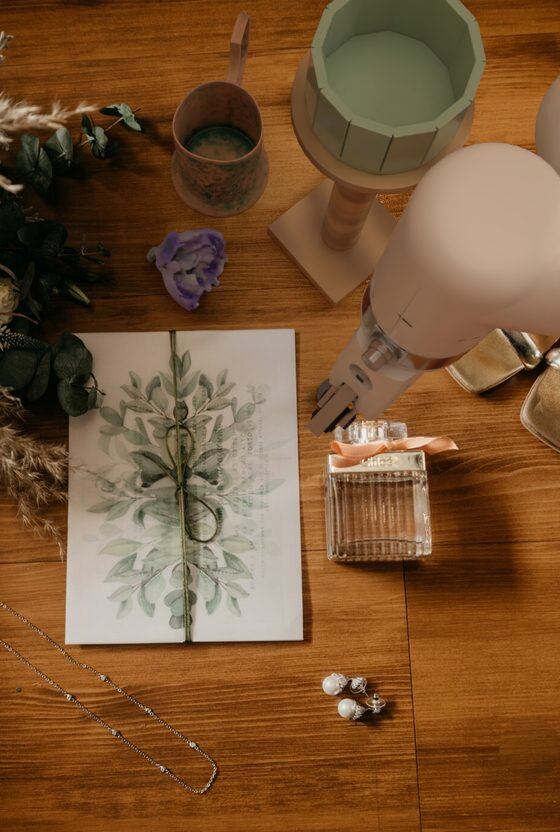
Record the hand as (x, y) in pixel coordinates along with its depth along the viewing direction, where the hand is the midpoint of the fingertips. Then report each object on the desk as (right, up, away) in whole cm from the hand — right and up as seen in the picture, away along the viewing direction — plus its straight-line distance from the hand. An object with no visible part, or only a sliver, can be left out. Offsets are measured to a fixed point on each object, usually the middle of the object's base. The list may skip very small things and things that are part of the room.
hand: (373, 374), depth 60 cm
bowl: (+1, +22, -2) cm, 22 cm away
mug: (-13, +31, +25) cm, 42 cm away
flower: (-18, +15, +24) cm, 33 cm away
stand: (0, +20, +24) cm, 31 cm away
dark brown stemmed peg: (0, +1, +22) cm, 22 cm away
